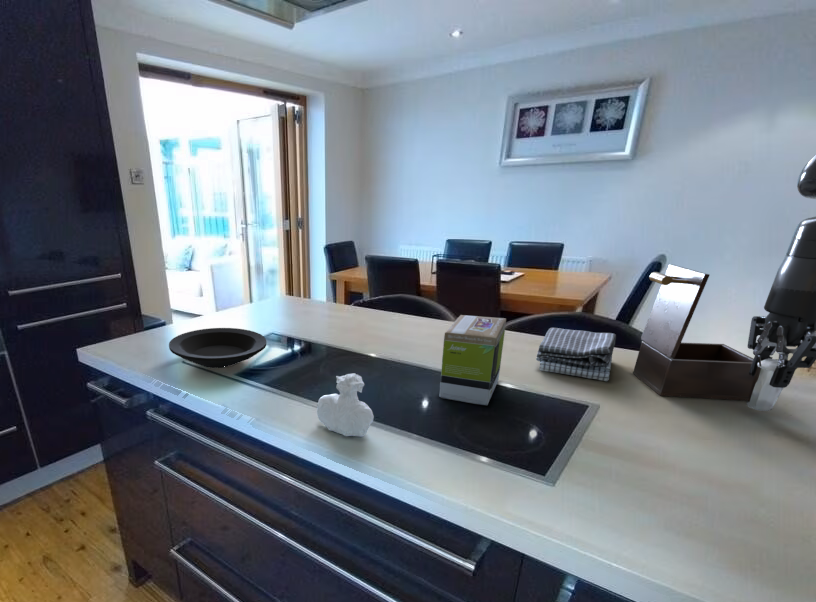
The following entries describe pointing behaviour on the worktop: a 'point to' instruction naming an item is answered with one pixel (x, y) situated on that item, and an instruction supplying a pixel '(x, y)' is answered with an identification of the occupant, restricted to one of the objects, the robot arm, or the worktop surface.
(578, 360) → the towel
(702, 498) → the worktop surface
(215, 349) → the plate
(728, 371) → the chest
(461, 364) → the tea box
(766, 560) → the worktop surface
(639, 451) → the worktop surface
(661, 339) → the lid
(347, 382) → the bust
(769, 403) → the milkshake
